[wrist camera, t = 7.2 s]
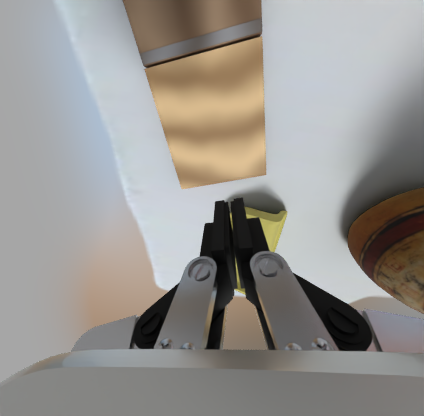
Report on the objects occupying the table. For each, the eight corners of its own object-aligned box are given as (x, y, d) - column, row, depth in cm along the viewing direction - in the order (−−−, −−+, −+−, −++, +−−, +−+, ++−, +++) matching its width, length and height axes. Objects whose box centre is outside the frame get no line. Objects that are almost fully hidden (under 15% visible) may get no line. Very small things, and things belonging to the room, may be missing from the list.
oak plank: (149, 72, 21) (144, 68, 19) (259, 41, 19) (262, 36, 18) (183, 186, 28) (181, 189, 27) (263, 172, 27) (266, 174, 25)
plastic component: (227, 208, 29) (286, 225, 25) (240, 195, 35) (289, 207, 31) (218, 281, 38) (260, 302, 34) (229, 261, 44) (266, 276, 40)
